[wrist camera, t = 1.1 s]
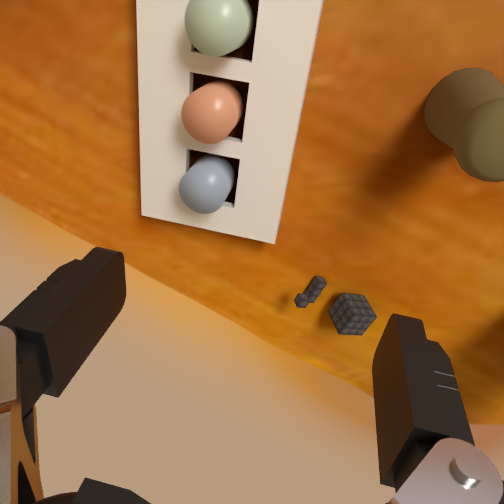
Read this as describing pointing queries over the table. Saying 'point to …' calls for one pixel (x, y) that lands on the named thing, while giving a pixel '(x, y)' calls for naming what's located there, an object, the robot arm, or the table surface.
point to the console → (256, 118)
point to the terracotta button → (212, 111)
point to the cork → (470, 121)
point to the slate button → (207, 184)
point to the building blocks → (341, 308)
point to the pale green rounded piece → (218, 25)
